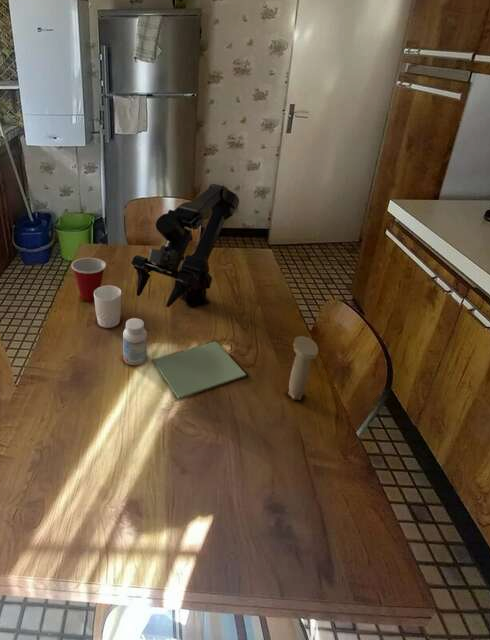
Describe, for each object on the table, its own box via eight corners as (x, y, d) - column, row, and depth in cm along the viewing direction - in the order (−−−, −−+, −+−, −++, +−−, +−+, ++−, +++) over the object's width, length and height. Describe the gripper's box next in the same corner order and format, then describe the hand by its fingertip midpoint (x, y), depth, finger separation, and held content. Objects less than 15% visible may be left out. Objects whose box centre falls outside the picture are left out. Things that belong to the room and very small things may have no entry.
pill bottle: (122, 351, 117) (122, 316, 112) (145, 350, 117) (146, 315, 112) (123, 366, 111) (123, 331, 106) (147, 365, 112) (147, 330, 107)
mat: (216, 342, 120) (216, 341, 120) (245, 376, 109) (246, 374, 108) (153, 361, 113) (153, 359, 113) (178, 399, 102) (178, 397, 101)
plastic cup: (113, 292, 143) (112, 259, 138) (96, 309, 134) (94, 275, 129) (85, 284, 147) (83, 252, 142) (66, 300, 138) (64, 267, 133)
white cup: (118, 331, 124) (117, 301, 120) (91, 327, 126) (90, 298, 121) (124, 315, 131) (124, 286, 127) (99, 311, 133) (98, 283, 128)
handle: (301, 386, 106) (312, 336, 99) (309, 406, 100) (321, 355, 94) (281, 385, 106) (291, 335, 99) (288, 405, 100) (299, 354, 94)
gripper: (134, 227, 116) (110, 281, 112) (197, 245, 106) (172, 304, 103) (150, 243, 125) (128, 293, 121) (209, 261, 116) (186, 315, 112)
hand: (152, 301), depth 114 cm, fingers open, 9 cm apart
